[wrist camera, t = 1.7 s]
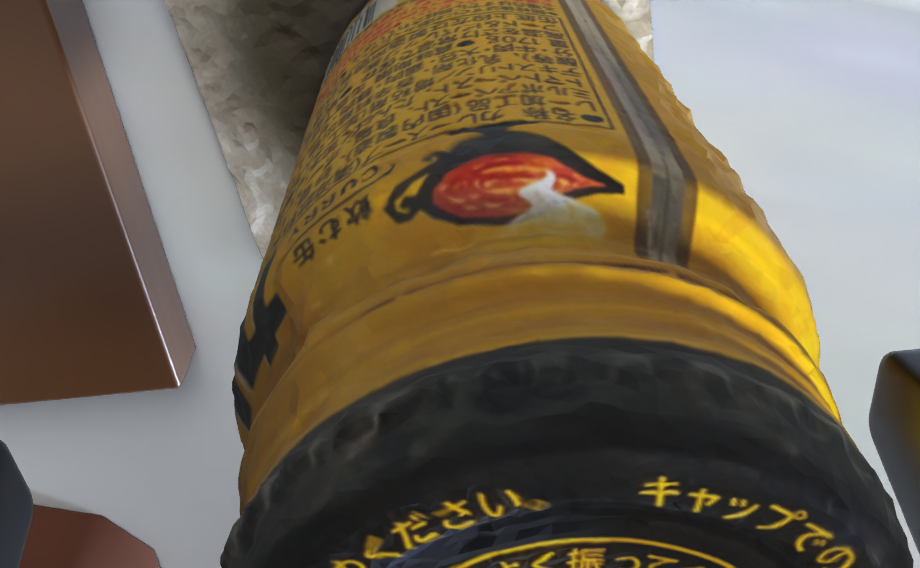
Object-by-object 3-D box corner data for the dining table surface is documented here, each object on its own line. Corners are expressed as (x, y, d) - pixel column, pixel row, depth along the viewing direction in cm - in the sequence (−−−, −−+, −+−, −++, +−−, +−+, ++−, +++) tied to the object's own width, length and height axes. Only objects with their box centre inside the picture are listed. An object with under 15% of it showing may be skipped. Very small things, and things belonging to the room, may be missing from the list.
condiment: (665, 234, 18) (981, 864, 8) (280, 303, 18) (95, 971, 8) (639, -142, 14) (1208, 110, 4) (155, -40, 15) (-484, 419, 4)
